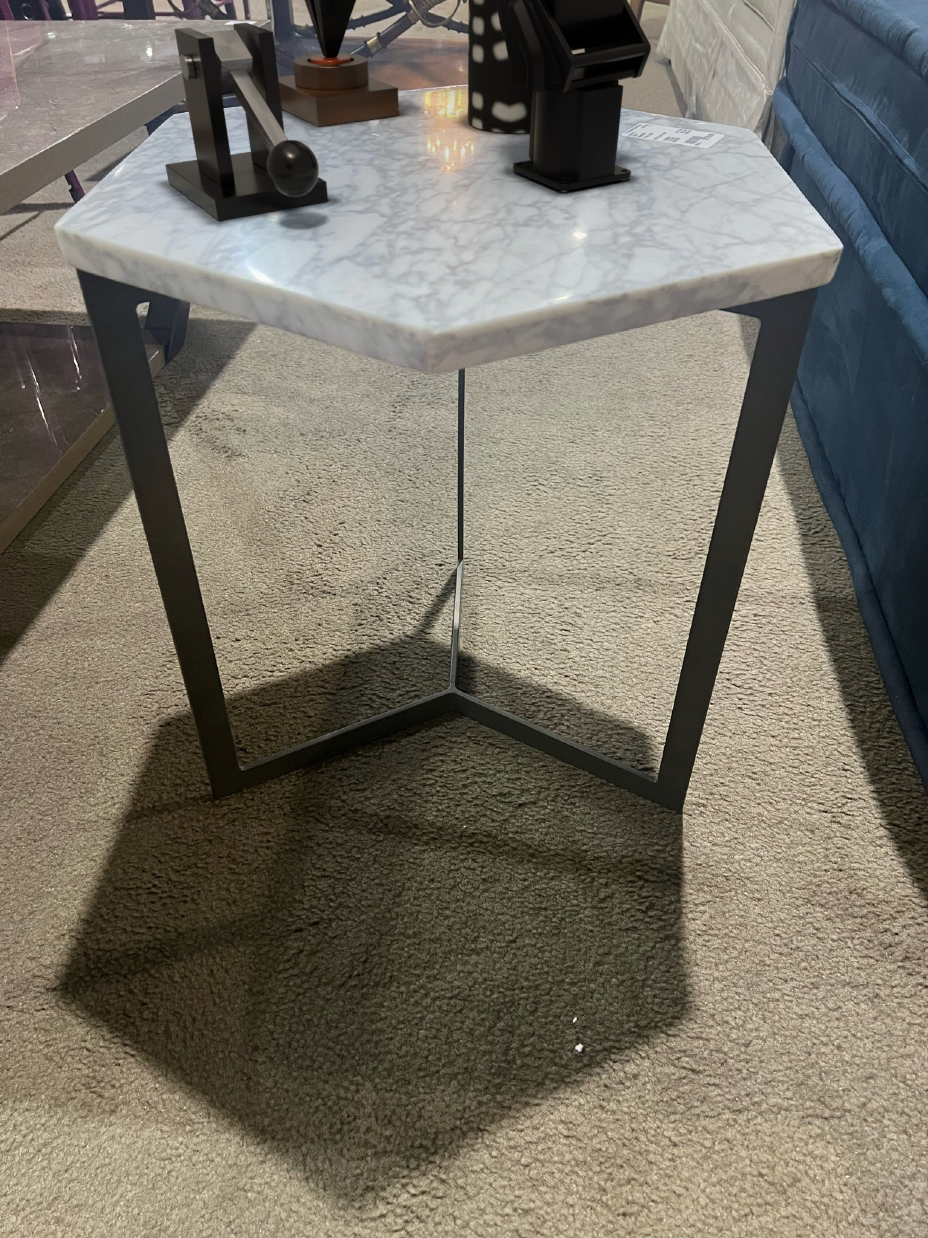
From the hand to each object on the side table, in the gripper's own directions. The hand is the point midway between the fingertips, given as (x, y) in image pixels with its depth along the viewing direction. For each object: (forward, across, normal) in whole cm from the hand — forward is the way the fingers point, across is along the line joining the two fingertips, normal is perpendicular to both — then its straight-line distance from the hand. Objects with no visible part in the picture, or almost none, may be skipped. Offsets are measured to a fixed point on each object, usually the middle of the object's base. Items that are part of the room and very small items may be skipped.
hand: (330, 56), depth 82 cm
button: (+2, 0, 0) cm, 2 cm away
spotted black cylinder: (+4, +12, +12) cm, 18 cm away
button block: (+4, 0, 0) cm, 4 cm away
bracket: (+4, +20, -16) cm, 26 cm away
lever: (0, +23, -17) cm, 29 cm away
